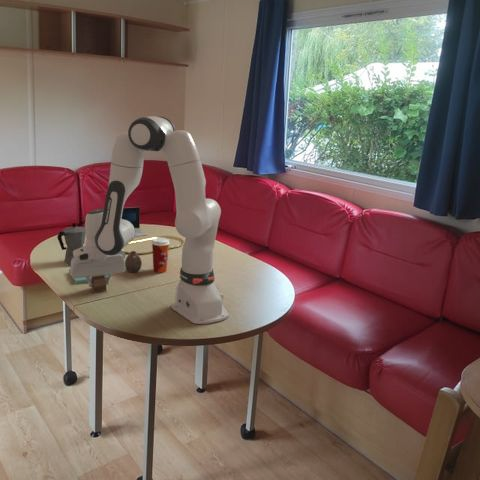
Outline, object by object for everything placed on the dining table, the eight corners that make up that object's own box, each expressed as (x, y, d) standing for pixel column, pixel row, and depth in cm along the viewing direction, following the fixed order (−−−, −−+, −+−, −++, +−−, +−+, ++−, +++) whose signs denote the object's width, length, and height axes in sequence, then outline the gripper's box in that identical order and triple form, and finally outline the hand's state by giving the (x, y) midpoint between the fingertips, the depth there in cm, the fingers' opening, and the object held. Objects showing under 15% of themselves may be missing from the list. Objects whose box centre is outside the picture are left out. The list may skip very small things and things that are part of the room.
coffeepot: (79, 256, 219) (78, 218, 213) (94, 260, 215) (93, 221, 209) (51, 265, 206) (49, 224, 201) (67, 270, 202) (65, 229, 196)
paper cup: (165, 274, 204) (166, 243, 200) (148, 272, 206) (148, 241, 201) (171, 268, 212) (172, 238, 207) (155, 266, 213) (155, 236, 209)
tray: (108, 279, 195) (108, 276, 194) (75, 284, 189) (75, 280, 188) (100, 269, 206) (100, 265, 205) (69, 272, 199) (69, 269, 199)
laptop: (114, 239, 246) (113, 214, 242) (107, 232, 256) (106, 208, 252) (147, 236, 255) (147, 212, 251) (139, 229, 265) (139, 206, 261)
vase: (144, 269, 208) (144, 250, 205) (136, 275, 202) (136, 255, 199) (129, 267, 210) (129, 248, 207) (122, 272, 203) (121, 253, 201)
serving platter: (110, 247, 234) (110, 244, 234) (169, 236, 258) (169, 233, 257) (131, 258, 221) (131, 255, 221) (191, 245, 245) (191, 243, 244)
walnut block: (106, 290, 185) (106, 278, 183) (94, 292, 183) (94, 280, 181) (103, 286, 188) (102, 274, 187) (91, 288, 186) (91, 276, 185)
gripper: (122, 246, 188) (123, 278, 193) (68, 251, 179) (69, 285, 183) (127, 251, 183) (127, 284, 187) (71, 256, 173) (73, 292, 177)
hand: (98, 285), depth 185 cm, fingers closed on walnut block, 4 cm apart
